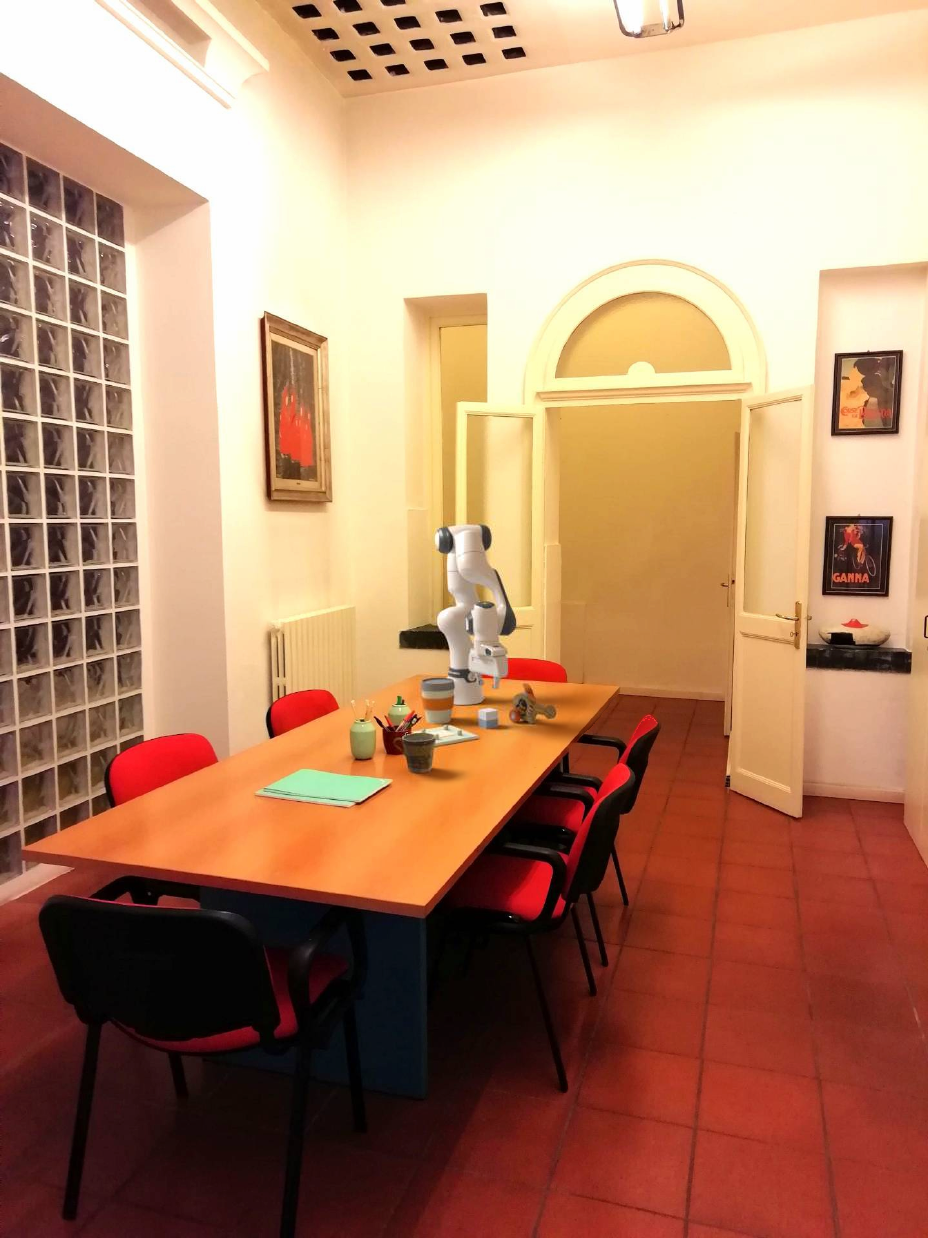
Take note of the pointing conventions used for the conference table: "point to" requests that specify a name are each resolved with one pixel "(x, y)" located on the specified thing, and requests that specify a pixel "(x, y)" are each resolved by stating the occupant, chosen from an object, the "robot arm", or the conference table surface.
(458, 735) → the baseplate
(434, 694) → the reusable coffee cup
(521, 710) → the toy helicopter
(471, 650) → the robot arm
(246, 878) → the conference table surface
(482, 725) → the brick stack
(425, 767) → the ceramic cup
